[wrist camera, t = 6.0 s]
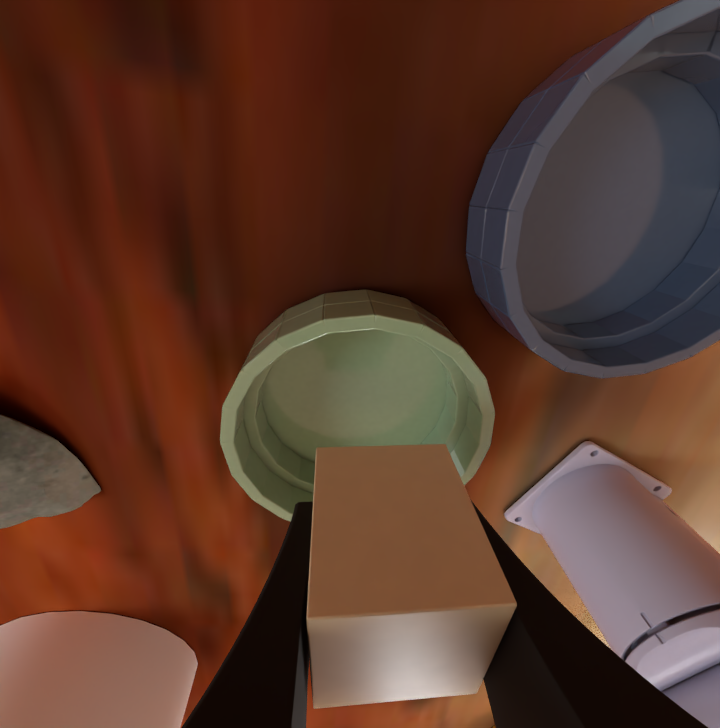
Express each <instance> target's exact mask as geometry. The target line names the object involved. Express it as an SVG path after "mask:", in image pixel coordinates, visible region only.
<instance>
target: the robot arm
mask: <svg viewBox="0 0 720 728" xmlns="http://www.w3.org/2000/svg"><path fill="white" fill-rule="evenodd" d="M671 492H672V489H671V488H670V487H669V486H668V485H666V484H665V483H663V482H661V481H659V480H658V479H656V478H654V477H652V476H651V475H649V474H647V473H645V472H644V471H642V470H640V469H638V468H637V467H635V466H633V465H632V464H630V463H628V462H626V461H625V460H623V459H621V458H619V457H618V456H616V455H614V454H612V453H611V452H609V451H607V450H605V449H604V448H602V447H600V446H598V445H597V444H595V443H593V442H591V441H585V442H583V443H581V444H580V445H579V446H578V447H577V448H576V449H575V450H573V451H572V452H571V453H570V454H569V455H568V456H567V457H566V458H565V459H563V460H562V461H561V462H560V463H559V464H558V465H557V466H556V467H554V468H553V469H552V470H551V471H550V472H549V473H548V474H547V475H546V476H544V477H543V478H542V479H541V480H540V481H539V482H538V483H537V484H535V485H534V486H533V487H532V488H531V489H530V490H529V491H528V492H527V493H525V494H524V495H523V496H522V497H521V498H520V499H519V500H518V501H516V502H515V503H514V504H513V505H512V506H511V507H510V508H509V509H508V510H506V512H505V513H504V515H505V518H506V519H507V520H508V521H510V522H512V523H515V524H517V525H519V526H522V527H524V528H527V529H529V530H532V531H534V532H536V533H539V534H541V535H542V536H543V537H544V539H545V541H546V542H547V544H548V546H549V547H550V549H551V551H552V552H553V554H554V556H555V557H556V559H557V560H558V562H559V564H560V565H561V567H562V569H563V570H564V572H565V574H566V575H567V577H568V578H569V580H570V582H571V583H572V585H573V587H574V588H575V590H576V592H577V593H578V595H579V597H580V598H581V600H582V601H583V603H584V605H585V606H586V608H587V610H588V611H589V613H590V615H591V616H592V618H593V619H594V621H595V623H596V624H597V626H598V628H599V629H600V631H601V633H602V634H603V636H604V637H605V639H606V641H607V642H608V644H609V646H610V647H611V649H612V650H611V649H610V648H609V647H607V646H606V645H605V644H604V643H603V642H602V641H601V640H599V639H598V638H597V637H596V636H595V635H594V634H593V633H592V632H591V631H590V630H589V629H587V628H586V627H585V626H584V625H583V624H582V623H581V622H580V621H579V620H578V619H577V618H576V617H575V616H574V615H573V614H572V613H570V612H569V611H568V610H567V609H566V608H565V607H564V606H563V605H562V604H561V603H560V602H559V601H558V600H557V599H556V598H555V597H554V596H553V595H552V594H551V593H550V592H549V591H548V590H547V589H546V587H545V586H544V585H543V584H542V583H541V582H540V581H539V580H538V579H537V578H536V577H535V576H534V575H533V574H532V573H531V571H530V570H529V569H528V568H527V567H526V566H525V565H524V564H523V563H522V562H521V560H520V559H519V558H518V557H517V556H516V555H515V553H514V552H513V551H512V550H511V549H510V548H509V547H508V545H507V544H506V543H505V542H504V541H503V539H502V538H501V537H500V536H499V535H498V533H497V532H496V531H495V530H494V529H493V527H492V526H491V525H490V524H489V522H488V521H487V520H486V519H485V517H484V516H483V515H482V514H481V512H480V511H479V510H478V509H477V507H476V506H475V505H474V504H473V502H472V501H471V502H472V504H473V507H474V509H475V511H476V513H477V515H478V518H479V520H480V522H481V524H482V527H483V529H484V531H485V533H486V535H487V538H488V540H489V542H490V544H491V547H492V549H493V551H494V553H495V555H496V558H497V560H498V562H499V564H500V567H501V569H502V571H503V573H504V576H505V578H506V580H507V582H508V584H509V587H510V589H511V591H512V593H513V596H514V598H515V600H516V602H517V607H516V609H515V611H514V613H513V615H512V617H511V620H510V622H509V624H508V626H507V628H506V631H505V633H504V635H503V637H502V639H501V641H500V644H499V646H498V648H497V650H496V652H495V654H494V657H493V659H492V661H491V663H490V665H489V668H488V670H487V672H486V674H485V676H484V678H483V679H484V682H485V686H486V690H487V694H488V698H489V702H490V706H491V710H492V714H493V718H494V722H495V726H496V728H720V554H719V553H718V552H717V551H716V550H715V549H714V548H713V547H712V546H711V545H710V544H708V543H707V542H706V541H705V540H704V539H703V538H702V537H701V536H700V535H699V534H698V533H697V532H696V531H695V530H694V529H692V528H691V527H690V526H689V525H688V524H687V523H686V522H685V521H684V520H683V519H682V518H681V517H680V516H679V515H678V514H677V513H675V512H674V511H673V510H672V509H671V508H670V507H669V506H668V505H667V504H666V503H665V502H664V501H663V499H665V498H666V497H667V496H669V495H670V494H671ZM312 511H313V501H310V502H298V503H297V504H295V508H294V512H293V515H292V519H291V522H290V525H289V528H288V531H287V534H286V536H285V539H284V542H283V544H282V547H281V549H280V552H279V554H278V556H277V559H276V561H275V563H274V566H273V568H272V570H271V573H270V575H269V577H268V579H267V581H266V583H265V585H264V587H263V589H262V592H261V594H260V596H259V598H258V600H257V602H256V604H255V606H254V608H253V610H252V612H251V614H250V616H249V617H248V619H247V621H246V623H245V625H244V627H243V629H242V630H241V632H240V634H239V636H238V638H237V639H236V641H235V643H234V645H233V646H232V648H231V650H230V652H229V653H228V655H227V657H226V658H225V660H224V662H223V663H222V665H221V667H220V668H219V670H218V672H217V674H216V675H215V677H214V678H213V680H212V682H211V683H210V685H209V687H208V688H207V690H206V691H205V693H204V695H203V696H202V698H201V699H200V701H199V702H198V704H197V705H196V707H195V708H194V710H193V711H192V713H191V714H190V716H189V717H188V719H187V720H186V722H185V723H184V725H183V726H182V728H306V711H307V685H308V669H309V645H308V632H307V620H306V616H307V599H308V581H309V563H310V546H311V528H312Z"/></svg>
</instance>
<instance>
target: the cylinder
mask: <svg viewBox="0 0 720 728" xmlns="http://www.w3.org/2000/svg"><path fill="white" fill-rule="evenodd" d="M197 666H198V662H197V659H196V656H195V652H194V651H193V650H192V649H191V648H190V647H189V646H188V645H187V643H186V642H185V641H184V640H182V639H181V638H179V637H177V636H176V635H174V634H173V633H171V632H169V631H168V630H166V629H163V628H161V627H158V626H155V625H153V624H150V623H148V622H145V621H142V620H138V619H134V618H129V617H125V616H120V615H115V614H109V613H97V612H86V611H67V612H47V613H42V614H36V615H31V616H26V617H20V618H18V619H15V620H13V621H10V622H8V623H5V624H3V625H0V728H180V727H181V723H182V720H183V716H184V712H185V709H186V705H187V702H188V698H189V695H190V691H191V687H192V684H193V680H194V677H195V673H196V670H197Z"/></svg>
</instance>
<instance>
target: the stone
mask: <svg viewBox="0 0 720 728" xmlns="http://www.w3.org/2000/svg"><path fill="white" fill-rule="evenodd" d="M100 491H101V489H100V486H99V485H98V484H97V483H96V481H95V480H94V479H93V477H92V476H91V474H90V473H89V472H88V470H87V469H86V468H85V467H84V465H83V464H82V463H81V462H80V461H79V459H78V458H77V457H76V456H74V455H73V454H72V453H71V452H70V451H68V450H67V449H66V448H65V447H64V446H63V445H62V444H61V443H60V442H59V441H57V440H56V439H54V438H53V437H51V436H49V435H47V434H45V433H43V432H42V431H40V430H38V429H36V428H34V427H32V426H29V425H26V424H24V423H22V422H19V421H17V420H15V419H12V418H10V417H7V416H4V415H1V414H0V529H1V528H6V527H10V526H13V525H16V524H19V523H22V522H24V521H27V520H30V519H32V518H35V517H51V516H55V515H58V514H62V513H66V512H69V511H72V510H75V509H77V508H79V507H81V506H82V504H83V503H85V502H86V501H88V500H89V499H90V498H91V497H92V496H93V495H95V494H97V493H99V492H100Z"/></svg>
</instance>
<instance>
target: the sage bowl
mask: <svg viewBox="0 0 720 728" xmlns="http://www.w3.org/2000/svg"><path fill="white" fill-rule="evenodd" d="M494 418H495V409H494V405H493V401H492V398H491V394H490V390H489V386H488V382H487V379H486V377H485V375H484V374H483V373H482V372H481V370H480V369H479V368H478V366H477V365H476V364H475V362H474V361H473V360H472V359H471V357H470V356H469V355H468V353H467V352H466V351H465V350H464V348H463V347H462V346H461V345H460V343H459V342H458V341H457V340H456V339H455V337H454V336H453V335H452V334H451V333H450V331H449V330H448V329H447V328H446V327H445V325H444V324H443V323H442V322H441V321H440V319H438V318H437V317H436V316H434V315H433V314H431V313H429V312H428V311H426V310H425V309H423V308H421V307H420V306H418V305H416V304H415V303H413V302H412V301H410V300H408V299H406V298H403V297H398V296H394V295H389V294H385V293H380V292H376V291H371V290H366V289H365V290H354V291H343V292H333V293H325V294H322V295H320V296H317V297H315V298H313V299H310V300H308V301H306V302H303V303H301V304H299V305H296V306H294V307H292V308H289V309H287V310H286V311H285V312H283V313H282V314H281V315H280V316H279V317H278V318H277V319H276V320H275V321H273V322H272V323H271V324H270V325H269V326H268V327H267V328H266V329H265V330H263V331H262V332H261V333H260V334H259V335H258V337H257V338H256V340H255V342H254V344H253V346H252V348H251V350H250V352H249V354H248V356H247V358H246V360H245V362H244V363H243V365H242V367H241V369H240V371H239V373H238V375H237V377H236V379H235V381H234V383H233V385H232V387H231V389H230V391H229V393H228V395H227V397H226V399H225V401H224V403H223V406H222V418H221V432H220V444H221V446H222V449H223V452H224V455H225V458H226V461H227V464H228V466H229V469H230V472H231V474H232V476H233V477H234V479H235V480H236V481H237V482H238V483H239V484H240V486H241V487H242V488H243V489H244V490H245V492H246V493H247V494H248V495H249V496H250V497H251V499H252V500H254V501H255V502H257V503H258V504H260V505H261V506H263V507H264V508H266V509H268V510H269V511H271V512H272V513H274V514H275V515H277V516H279V517H280V518H283V519H284V520H287V521H291V519H292V515H293V512H294V508H295V504H297V503H298V502H310V501H313V493H314V476H315V458H316V448H318V447H353V446H390V445H427V444H445V445H446V446H447V449H448V451H449V453H450V455H451V458H452V460H453V462H454V464H455V466H456V469H457V471H458V473H459V475H460V478H461V480H462V482H463V484H464V485H465V484H466V483H467V482H468V481H469V480H470V479H471V478H472V477H473V476H474V475H475V474H476V472H477V470H478V468H479V466H480V464H481V462H482V461H483V459H484V457H485V455H486V453H487V451H488V449H489V448H490V445H491V439H492V432H493V425H494Z"/></svg>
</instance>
